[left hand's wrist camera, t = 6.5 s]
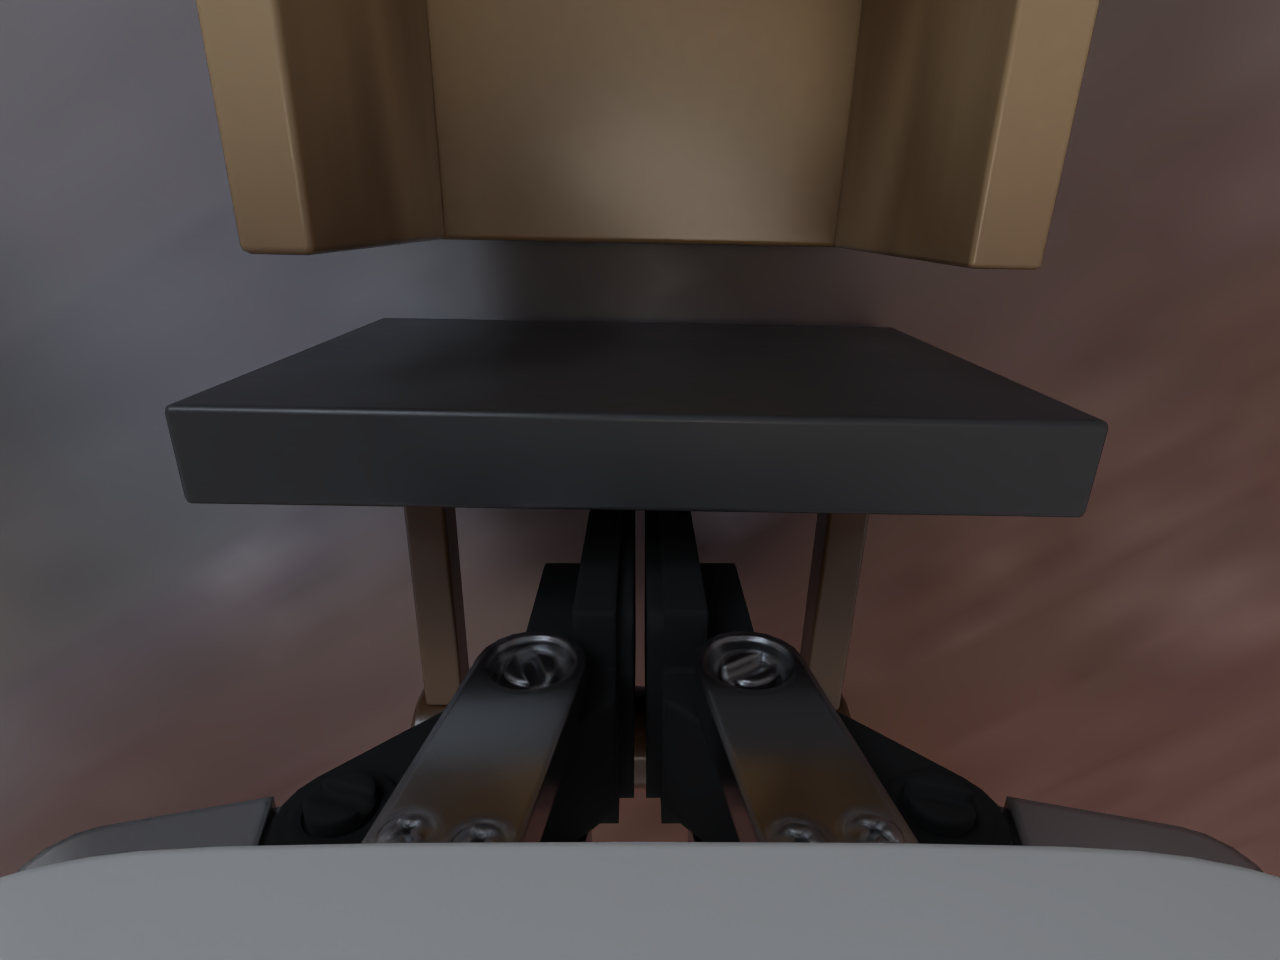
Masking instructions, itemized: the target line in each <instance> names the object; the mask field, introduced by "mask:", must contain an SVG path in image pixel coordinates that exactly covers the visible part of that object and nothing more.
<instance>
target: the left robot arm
mask: <svg viewBox="0 0 1280 960" xmlns="http://www.w3.org/2000/svg"><path fill="white" fill-rule="evenodd" d="M635 649H636V620H635V510H591V509H590V512H589V518H588V523H587V529H586V535H585V541H584V546H583V552H582V558H581V563H546V564H545V567H544V570H543V574H542V577H541V581H540V584H539V588H538V592H537V595H536V599H535V602H534V606H533V610H532V613H531V617H530V620H529V624H528V628H527V631H526V632H523V633H518V634H513V635H510V636H507V637H505V638H502V639H499V640H497V641H496V642H494V643H493V644H491V645H489V646H488V647H486V648H485V649H484V650H483V652H482V653H481V654H480V655H479V656H478V657H477V659H476V660H475V662H474V663H473V665H472V667H471V668H470V670H469V671H468V673H467V675H466V676H465V678H464V679H463V681H462V683H461V684H460V686H459V687H458V689H457V691H456V692H455V694H454V695H453V697H452V699H451V700H450V702H449V703H448V705H447V707H446V708H445V710H444V711H442V712H440V713H439V714H437V715H435V716H433V717H431V718H429V719H427V720H425V721H423V722H421V723H420V724H418V725H416V726H414V727H412V728H410V729H408V730H406V731H404V732H403V733H401V734H399V735H397V736H395V737H393V738H391V739H389V740H387V741H385V742H384V743H382V744H380V745H378V746H376V747H374V748H372V749H370V750H368V751H366V752H365V753H363V754H361V755H359V756H357V757H355V758H353V759H351V760H349V761H348V762H346V763H344V764H342V765H340V766H338V767H336V768H334V769H332V770H330V771H329V772H327V773H325V774H323V775H321V776H319V777H317V778H316V779H314V780H313V781H311V782H309V783H308V784H306V785H305V786H303V787H302V788H300V789H299V790H297V791H296V792H295V793H294V794H293V795H292V796H291V797H290V798H289V799H288V800H287V801H286V802H285V803H284V804H283V805H282V806H281V807H276V806H275V801H274V797H267V798H261V799H255V800H250V801H244V802H238V803H232V804H227V805H221V806H215V807H209V808H204V809H198V810H192V811H186V812H180V813H175V814H169V815H163V816H157V817H152V818H146V819H140V820H134V821H129V822H123V823H117V824H111V825H106V826H100V827H97V828H93V829H90V830H87V831H83V832H80V833H76V834H74V835H72V836H70V837H68V838H66V839H64V840H62V841H60V842H57V843H55V844H53V845H51V846H49V847H47V848H46V849H45V850H43V851H42V852H41V853H39V854H38V855H37V856H35V857H34V858H32V859H31V860H30V861H28V862H27V863H26V864H24V865H23V866H22V867H21V868H20V869H19V870H18V871H17V872H16V873H14V874H10V875H7V876H3V877H0V960H1280V877H1277V876H1273V875H1270V874H1266V873H1264V872H1263V871H1262V870H1261V869H1260V868H1259V867H1258V866H1257V865H1256V864H1254V863H1253V862H1252V861H1250V860H1249V859H1248V858H1246V857H1245V856H1244V855H1242V854H1241V853H1239V852H1238V851H1237V850H1235V849H1234V848H1233V847H1231V846H1229V845H1227V844H1225V843H1223V842H1221V841H1219V840H1217V839H1215V838H1213V837H1211V836H1209V835H1206V834H1204V833H1200V832H1197V831H1194V830H1190V829H1187V828H1183V827H1180V826H1174V825H1169V824H1163V823H1157V822H1151V821H1146V820H1140V819H1134V818H1128V817H1123V816H1117V815H1111V814H1105V813H1100V812H1094V811H1088V810H1082V809H1077V808H1071V807H1065V806H1059V805H1054V804H1048V803H1042V802H1036V801H1031V800H1025V799H1019V798H1013V797H1008V796H1007V798H1006V802H1005V806H1004V807H999V806H998V805H997V804H996V803H995V802H994V801H993V800H992V799H991V798H990V797H989V796H988V795H987V794H986V793H985V792H984V791H983V790H981V789H980V788H978V787H977V786H975V785H974V784H972V783H971V782H969V781H968V780H966V779H964V778H963V777H961V776H959V775H957V774H955V773H953V772H952V771H950V770H948V769H946V768H944V767H942V766H940V765H938V764H936V763H934V762H933V761H931V760H929V759H927V758H925V757H923V756H921V755H919V754H917V753H916V752H914V751H912V750H910V749H908V748H906V747H904V746H902V745H900V744H898V743H897V742H895V741H893V740H891V739H889V738H887V737H885V736H883V735H881V734H880V733H878V732H876V731H874V730H872V729H870V728H868V727H866V726H864V725H862V724H861V723H859V722H857V721H855V720H853V719H851V718H849V717H847V716H845V715H844V714H842V713H840V712H838V711H836V710H835V708H834V707H833V705H832V703H831V702H830V700H829V699H828V697H827V695H826V694H825V692H824V691H823V689H822V687H821V686H820V684H819V683H818V681H817V679H816V678H815V676H814V675H813V673H812V671H811V670H810V668H809V667H808V665H807V663H806V662H805V660H804V659H803V657H802V656H801V655H800V654H799V653H798V652H797V650H796V649H795V648H794V647H792V646H791V645H789V644H787V643H786V642H784V641H783V640H781V639H778V638H775V637H773V636H770V635H767V634H762V633H757V632H754V631H753V627H752V624H751V620H750V616H749V613H748V609H747V606H746V602H745V598H744V595H743V591H742V588H741V584H740V580H739V577H738V573H737V569H736V566H735V564H734V563H699V557H698V551H697V545H696V540H695V534H694V528H693V523H692V517H691V511H655V510H645V731H646V798H661V821H662V823H681V824H682V825H683V826H684V827H686V828H687V829H688V842H592V829H593V828H594V827H596V826H597V825H598V824H600V823H619V798H634V743H635Z"/></svg>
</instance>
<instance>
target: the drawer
mask: <svg viewBox="0 0 1280 960" xmlns="http://www.w3.org/2000/svg"><path fill="white" fill-rule="evenodd" d="M1099 1H1100V0H196V4H197V9H198V15H199V20H200V26H201V31H202V37H203V42H204V48H205V53H206V59H207V64H208V70H209V75H210V81H211V86H212V92H213V97H214V103H215V108H216V114H217V119H218V125H219V130H220V136H221V141H222V147H223V152H224V158H225V163H226V169H227V174H228V180H229V185H230V191H231V196H232V202H233V207H234V213H235V218H236V224H237V229H238V235H239V240H240V245H241V247H242V249H243V250H244V251H246V252H248V253H251V254H279V255H314V254H322V253H330V252H339V251H347V250H355V249H364V248H372V247H380V246H389V245H397V244H405V243H414V242H422V241H430V240H439V239H462V240H512V241H562V242H612V243H662V244H712V245H762V246H812V247H839V248H845V249H852V250H858V251H864V252H871V253H877V254H883V255H890V256H896V257H903V258H909V259H915V260H922V261H928V262H934V263H941V264H947V265H953V266H960V267H966V268H979V269H1030V270H1034V269H1037V268H1040V266H1041V264H1042V260H1043V255H1044V250H1045V246H1046V241H1047V237H1048V232H1049V228H1050V223H1051V219H1052V214H1053V210H1054V205H1055V201H1056V196H1057V192H1058V187H1059V183H1060V178H1061V174H1062V169H1063V164H1064V160H1065V155H1066V151H1067V146H1068V142H1069V137H1070V133H1071V128H1072V124H1073V119H1074V115H1075V110H1076V106H1077V101H1078V97H1079V92H1080V87H1081V83H1082V78H1083V74H1084V69H1085V65H1086V60H1087V56H1088V51H1089V47H1090V42H1091V38H1092V33H1093V29H1094V24H1095V20H1096V15H1097V10H1098V6H1099ZM165 415H166V420H167V424H168V428H169V432H170V436H171V440H172V445H173V449H174V453H175V457H176V461H177V465H178V470H179V474H180V478H181V482H182V486H183V491H184V495H185V498H186V500H187V501H188V502H190V503H211V504H275V505H338V506H401V507H404V513H405V522H406V531H407V539H408V548H409V557H410V566H411V574H412V583H413V592H414V600H415V609H416V618H417V626H418V635H419V644H420V652H421V661H422V670H423V678H424V687H425V688H424V689H423V691H422V693H421V695H420V697H419V700H418V702H417V705H416V708H415V712H414V716H413V720H412V726H411V728H412V727H414V726H416V725H418V724H420V723H421V722H423V721H425V720H427V719H429V718H431V717H433V716H435V715H437V714H439V713H440V712H442V711H444V710H445V708H446V707H447V705H448V703H449V702H450V700H451V699H452V697H453V695H454V694H455V692H456V691H457V689H458V687H459V686H460V684H461V683H462V681H463V679H464V678H465V676H466V675H467V673H468V671H469V665H468V653H467V642H466V630H465V618H464V607H463V595H462V583H461V572H460V560H459V548H458V536H457V525H456V513H455V507H465V508H528V509H591V510H655V511H718V512H781V513H818V514H817V522H816V530H815V538H814V546H813V555H812V563H811V571H810V579H809V587H808V595H807V603H806V611H805V619H804V628H803V636H802V644H801V652H800V655H801V656H802V657H803V659H804V660H805V662H806V663H807V665H808V667H809V668H810V670H811V671H812V673H813V675H814V676H815V678H816V679H817V681H818V683H819V684H820V686H821V687H822V689H823V691H824V692H825V694H826V695H827V697H828V699H829V700H830V702H831V703H832V705H833V707H834V708H835V710H836V711H838V712H840V713H842V714H844V715H845V716H847V717H849V718H851V717H850V713H849V710H848V707H847V704H846V702H845V699H844V697H843V696H842V694H841V693H842V687H843V680H844V674H845V667H846V660H847V654H848V647H849V641H850V634H851V628H852V621H853V615H854V608H855V602H856V595H857V589H858V582H859V576H860V569H861V562H862V556H863V549H864V543H865V536H866V530H867V523H868V517H869V514H908V515H971V516H1035V517H1081V516H1083V514H1084V513H1085V511H1086V507H1087V503H1088V500H1089V496H1090V493H1091V489H1092V485H1093V482H1094V478H1095V475H1096V471H1097V467H1098V464H1099V460H1100V457H1101V453H1102V449H1103V446H1104V442H1105V439H1106V435H1107V431H1108V424H1107V423H1106V422H1105V421H1103V420H1101V419H1098V418H1096V417H1094V416H1091V415H1089V414H1087V413H1085V412H1082V411H1080V410H1078V409H1075V408H1073V407H1071V406H1069V405H1066V404H1064V403H1062V402H1060V401H1057V400H1055V399H1053V398H1050V397H1048V396H1046V395H1044V394H1041V393H1039V392H1037V391H1035V390H1032V389H1030V388H1028V387H1025V386H1023V385H1021V384H1019V383H1016V382H1014V381H1012V380H1010V379H1007V378H1005V377H1003V376H1000V375H998V374H996V373H994V372H991V371H989V370H987V369H984V368H982V367H980V366H978V365H975V364H973V363H971V362H969V361H966V360H964V359H962V358H959V357H957V356H955V355H953V354H950V353H948V352H946V351H944V350H941V349H939V348H937V347H934V346H932V345H930V344H928V343H925V342H923V341H921V340H918V339H916V338H914V337H912V336H909V335H907V334H905V333H903V332H900V331H898V330H896V329H893V328H889V327H836V326H783V325H729V324H676V323H623V322H569V321H516V320H463V319H409V318H383V319H380V320H378V321H376V322H373V323H371V324H368V325H366V326H363V327H361V328H358V329H356V330H353V331H351V332H348V333H346V334H343V335H341V336H338V337H336V338H333V339H331V340H329V341H326V342H324V343H321V344H319V345H316V346H314V347H311V348H309V349H306V350H304V351H301V352H299V353H296V354H294V355H291V356H289V357H287V358H284V359H282V360H279V361H277V362H274V363H272V364H269V365H267V366H264V367H262V368H259V369H257V370H254V371H252V372H249V373H247V374H244V375H242V376H240V377H237V378H235V379H232V380H230V381H227V382H225V383H222V384H220V385H217V386H215V387H212V388H210V389H207V390H205V391H202V392H200V393H197V394H195V395H193V396H190V397H188V398H185V399H183V400H180V401H178V402H175V403H173V404H170V405H168V406H167V407H166V409H165ZM634 788H646V731H645V686H635V743H634Z"/></svg>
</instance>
